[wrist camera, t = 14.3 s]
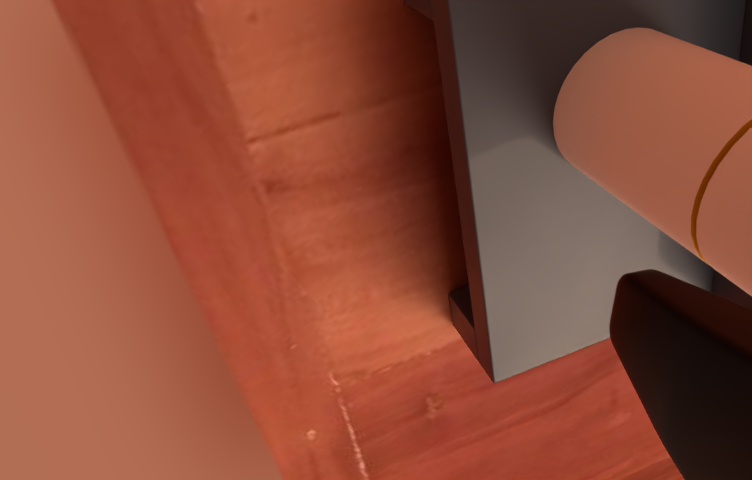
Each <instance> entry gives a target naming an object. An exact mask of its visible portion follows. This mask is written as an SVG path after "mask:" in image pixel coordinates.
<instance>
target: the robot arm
mask: <svg viewBox="0 0 752 480" xmlns="http://www.w3.org/2000/svg"><path fill="white" fill-rule="evenodd" d="M609 333H610V338H611V341H612V344H613V346H614V348H615V350H616V352H617V354H618V356H619V358H620V360H621V362H622V364H623V366H624V368H625V370H626V372H627V374H628V376H629V378H630V380H631V382H632V384H633V386H634V388H635V390H636V392H637V394H638V396H639V398H640V400H641V402H642V404H643V406H644V408H645V410H646V412H647V414H648V416H649V418H650V420H651V422H652V424H653V426H654V428H655V430H656V432H657V434H658V436H659V437H660V439H661V441H662V443H663V445H664V447H665V448H666V450H667V452H668V453H669V455H670V457H671V458H672V460H673V462H674V463H675V465H676V466H677V468H678V470H679V471H680V473H681V474H682V476H683V477H684V479H685V480H752V309H751V308H749V307H746V306H744V305H741V304H739V303H736V302H734V301H732V300H729V299H727V298H724V297H722V296H719V295H717V294H714V293H712V292H710V291H707V290H705V289H702V288H700V287H697V286H695V285H692V284H690V283H688V282H685V281H683V280H680V279H678V278H675V277H673V276H670V275H668V274H666V273H663V272H661V271H658V270H654V269H647V270H642V271H636V272H631V273H626V274H624V275H623V276H621V278H620V279H619V281H618V283H617V287H616V293H615V298H614V303H613V308H612V313H611V318H610V324H609Z"/></svg>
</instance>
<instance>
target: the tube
mask: <svg viewBox="0 0 752 480" xmlns="http://www.w3.org/2000/svg"><path fill="white" fill-rule="evenodd" d="M553 129H554V137H555V141H556V144H557V147H558V149H559V151H560V152H561V154H562V156H563V157H564V159H565V160H567V161H568V162H569V163H570V164H571V165H572V166H573V167H575V168H576V169H577V170H579V171H580V172H582V173H583V174H584V175H586V176H587V177H588V178H590V179H591V180H593V181H594V182H595V183H597V184H598V185H599V186H601V187H602V188H603V189H605V190H606V191H608V192H609V193H610V194H612V195H613V196H614V197H616V198H617V199H619V200H620V201H621V202H623V203H624V204H625V205H627V206H628V207H630V208H631V209H632V210H634V211H635V212H636V213H638V214H639V215H641V216H642V217H643V218H645V219H646V220H647V221H649V222H650V223H652V224H653V225H654V226H656V227H657V228H658V229H660V230H661V231H663V232H664V233H665V234H667V235H668V236H669V237H671V238H672V239H674V240H675V241H676V242H678V243H679V244H680V245H682V246H683V247H685V248H686V249H687V250H689V251H690V252H691V253H693V254H694V255H696V256H697V257H698V258H700V259H701V260H702V261H704V262H705V263H707V264H708V265H709V266H711V267H712V268H714V269H715V270H716V271H717V272H719V273H720V274H722V275H723V276H724V277H726V278H727V279H728V280H730V281H731V282H733V283H734V284H735V285H737V286H738V287H739V288H741V289H742V290H744V291H745V292H746V293H748V294H749V295H750V296H752V66H751V65H748V64H745V63H743V62H740V61H737V60H734V59H732V58H729V57H726V56H724V55H721V54H718V53H715V52H713V51H710V50H707V49H705V48H702V47H699V46H697V45H694V44H691V43H688V42H686V41H683V40H680V39H678V38H675V37H672V36H669V35H667V34H664V33H661V32H659V31H656V30H653V29H650V28H640V27H638V28H630V29H624V30H622V31H619V32H616V33H613V34H611V35H609V36H607V37H606V38H604V39H602V40H601V41H599V42H597V43H596V44H595V45H594V46H593V47H591V48H590V49H589V50H588V51H587V52H586V53H584V54H583V56H582V57H581V58H580V59H579V60H578V61H577V63H576V64H575V65H574V66H573V68H572V69H571V71H570V72H569V74H568V76H567V77H566V79H565V80H564V82H563V85H562V87H561V89H560V92H559V94H558V97H557V101H556V104H555V108H554V117H553Z"/></svg>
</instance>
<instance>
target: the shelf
mask: <svg viewBox="0 0 752 480" xmlns="http://www.w3.org/2000/svg"><path fill="white" fill-rule="evenodd" d="M403 3H404V4H406V5H407V6H409V7H411V8H412V9H414V10H416V11H418V12H419V13H421V14H423V15H424V16H426V17H428V18H429V19H431V20H434V28H435V35H436V43H437V50H438V58H439V65H440V73H441V80H442V87H443V95H444V102H445V110H446V117H447V125H448V132H449V140H450V147H451V155H452V162H453V169H454V177H455V184H456V192H457V199H458V207H459V214H460V222H461V229H462V237H463V244H464V252H465V259H466V266H467V274H468V281H469V286H468V287H465V288H462V289H460V290H457V291H454V292H451V293H449V294H448V296H449V302H450V308H451V315H452V321H453V325H454V327H455V328H456V330H457V331H458V333H459V334H460V335H461V337H462V338H463V340H464V341H465V343H466V344H467V346H468V347H469V348H470V350H471V351H472V353H473V354H474V356H475V357H476V359H477V360H478V361H479V363H480V364H481V365H482V367H483V368H484V370H485V371H486V373H487V374H488V376H489V377H490V378H491V380H492V381H493V383H497V382H499V381H502V380H504V379H507V378H509V377H512V376H514V375H517V374H519V373H522V372H524V371H527V370H529V369H532V368H534V367H537V366H540V365H542V364H545V363H547V362H550V361H552V360H555V359H557V358H560V357H562V356H565V355H567V354H570V353H572V352H575V351H577V350H580V349H582V348H585V347H588V346H590V345H593V344H595V343H598V342H600V341H603V340H605V339H608V338H610V333H609V324H610V318H611V313H612V308H613V303H614V298H615V293H616V287H617V283H618V281H619V279H620V278H621V276H623V275H624V274H626V273H631V272H636V271H642V270H647V269H654V270H658V271H661V272H663V273H666V274H668V275H670V276H673V277H675V278H678V279H680V280H683V281H685V282H688V283H690V284H692V285H695V286H697V287H700V288H702V289H705V290H707V291H710V292H712V293H714V294H717V295H719V296H722V297H724V298H727V299H729V300H732V301H734V302H736V303H739V304H741V305H744V306H746V307H749V308H751V309H752V296H750V295H749V294H748V293H746V292H745V291H744V290H742V289H741V288H739V287H738V286H737V285H735V284H734V283H733V282H731V281H730V280H728V279H727V278H726V277H724V276H723V275H722V274H720V273H719V272H717V271H716V270H715V269H714V268H712V267H711V266H709V265H708V264H707V263H705V262H704V261H702V260H701V259H700V258H698V257H697V256H696V255H694V254H693V253H691V252H690V251H689V250H687V249H686V248H685V247H683V246H682V245H680V244H679V243H678V242H676V241H675V240H674V239H672V238H671V237H669V236H668V235H667V234H665V233H664V232H663V231H661V230H660V229H658V228H657V227H656V226H654V225H653V224H652V223H650V222H649V221H647V220H646V219H645V218H643V217H642V216H641V215H639V214H638V213H636V212H635V211H634V210H632V209H631V208H630V207H628V206H627V205H625V204H624V203H623V202H621V201H620V200H619V199H617V198H616V197H614V196H613V195H612V194H610V193H609V192H608V191H606V190H605V189H603V188H602V187H601V186H599V185H598V184H597V183H595V182H594V181H593V180H591V179H590V178H588V177H587V176H586V175H584V174H583V173H582V172H580V171H579V170H577V169H576V168H575V167H573V166H572V165H571V164H570V163H569V162H568V161H567V160H565V159H564V157H563V156H562V154H561V152H560V151H559V149H558V147H557V144H556V141H555V137H554V129H553V117H554V108H555V104H556V101H557V97H558V94H559V92H560V89H561V87H562V85H563V82H564V80H565V79H566V77H567V76H568V74H569V72H570V71H571V69H572V68H573V66H574V65H575V64H576V63H577V61H578V60H579V59H580V58H581V57H582V56H583V54H584V53H586V52H587V51H588V50H589V49H590V48H591V47H593V46H594V45H595V44H596V43H597V42H599V41H601V40H602V39H604V38H606V37H607V36H609V35H611V34H613V33H616V32H619V31H622V30H624V29H630V28H638V27H640V28H650V29H653V30H656V31H659V32H661V33H664V34H667V35H669V36H672V37H675V38H678V39H680V40H683V41H686V42H688V43H691V44H694V45H697V46H699V47H702V48H705V49H707V50H710V51H713V52H715V53H718V54H721V55H724V56H726V57H729V58H732V59H734V60H737V61H740V62H743V63H745V64H748V65H751V66H752V0H403Z"/></svg>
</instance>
